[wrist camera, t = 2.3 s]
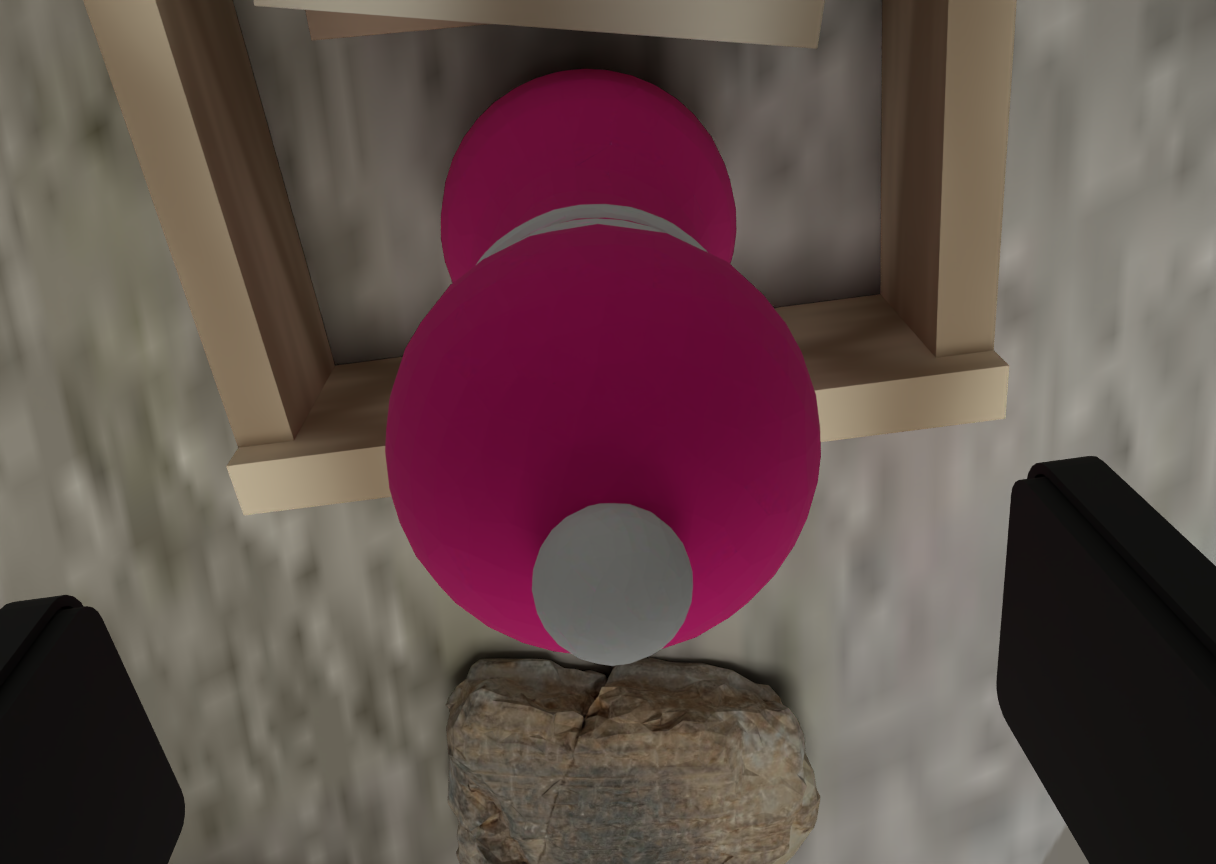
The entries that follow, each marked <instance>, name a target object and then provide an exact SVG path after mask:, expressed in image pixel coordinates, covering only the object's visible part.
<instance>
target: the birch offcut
mask: <svg viewBox="0 0 1216 864" xmlns="http://www.w3.org/2000/svg"><path fill="white" fill-rule="evenodd" d="M824 3H825V0H254V6H264V7H277V8H290V9H303V10H316V11H330V12H343V13H356V14H369V15H382V16H395V17H408V18H421V19H435V20H448V21H461V22H474V23H487V24H500V25H513V26H526V27H540V28H553V29H566V30H579V31H592V32H605V33H618V34H631V35H645V36H658V37H671V38H684V39H697V40H710V41H723V42H736V43H750V44H763V45H776V46H789V47H802V48H815V49H817V46H818V40H819V34H820V28H821V22H822V16H823V9H824Z"/></svg>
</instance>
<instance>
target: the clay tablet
mask: <svg viewBox="0 0 1216 864" xmlns="http://www.w3.org/2000/svg"><path fill="white" fill-rule="evenodd" d="M446 706H447V707H448V708H449V711H450V715H449V719H448V723H447V726H446V731H447V743H448V754H449V758H450V765H449V785H448V804H449V805H450V807H451V809H452V810H453V812H454V813H455V815H456V816H457V818H458V820H459V825H458V831H457V839H458V844H459V848H458V850H457V852H456V855H457V857H458V860H459V863H460V864H785V863H786V862H787V861H788V860H789V859H790V858H791V857H792V856H793V855H794V854H795V853H796V852H797V850H798V849H799V847H800V846H801V845H802V843H803V842H804V840H805V839H806V838H807V836H808V835H809V833H810V832H811V831H812V829H813V828H814V826H815V823H816V820H817V815H818V809H819V802H820V795H819V793H818V791H817V788H816V782H815V776H814V771H813V769H812V767H811V765H810V762H809V760H808V758H807V756H806V754H805V742H804V733H803V731H802V729H801V727H800V724H799V722H798V720H797V718H796V717H795V715H794V714H793V713H792V711H791V710H790V709H789V708H788V707H786V706H784V705H783V704H782V701H781V699H780V697H779V696H778V695H777V694H776V693H775V691H774V690H773V689H772V688H771V687H770V686H769V685H763V684H755V683H754V682H752V681H750V680H748V679H747V678H745V677H743V676H741V675H740V674H738V673H736V672H734V671H732V670H729V669H724V668H720V667H716V666H712V665H708V664H704V663H683V662H669V661H664V660H660V659H655V658H643V659H641V660H638V661H635V662H633V663H630V664H624V665H615V666H614V667H613V670H612V672H611V674H610V676H609V678H607V677H606V676H605V675H604V674H602V673H598V672H595V671H592V670H587V671H584V672H583V671H580V670H577V669H566V668H563V667H561V666H559V665H558V664H556V663H554V662H553V661H551V660H546V659H505V658H497V659H479V660H478V661H477V662H476V663H474V664H473V665H472V666H471V668H470V670H469V673H468V675H467V678H466V679H465V680H464V681H463V682H461V683H460V684H459V685H458V686H457V687H456V688H455V690H454V691H453V692H452V694H451V695H450V697H449V699H448V701H447V704H446Z"/></svg>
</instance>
